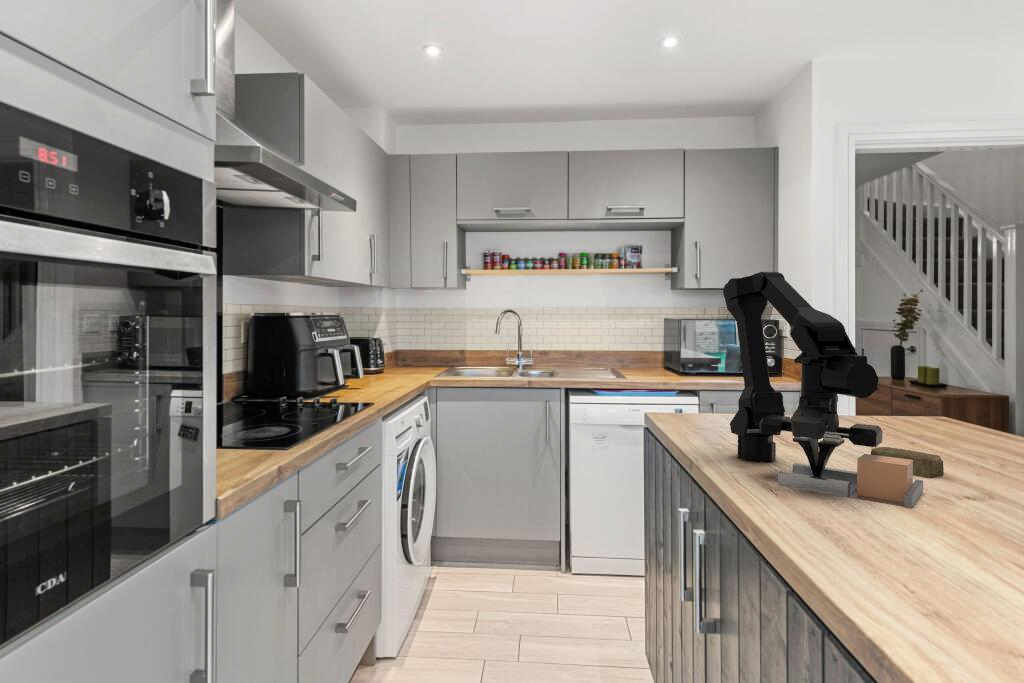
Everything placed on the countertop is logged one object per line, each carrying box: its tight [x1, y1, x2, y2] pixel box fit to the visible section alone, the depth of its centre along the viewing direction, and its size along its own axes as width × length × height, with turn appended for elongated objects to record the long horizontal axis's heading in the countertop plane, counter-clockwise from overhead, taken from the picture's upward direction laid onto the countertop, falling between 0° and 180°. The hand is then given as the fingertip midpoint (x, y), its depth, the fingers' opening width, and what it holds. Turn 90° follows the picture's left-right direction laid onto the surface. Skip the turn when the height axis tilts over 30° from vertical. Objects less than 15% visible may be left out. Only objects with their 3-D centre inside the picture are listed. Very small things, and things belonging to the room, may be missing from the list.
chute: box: [776, 462, 924, 509], centre depth 102 cm, size 20×11×3 cm, turn 48°
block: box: [856, 453, 914, 503], centre depth 98 cm, size 7×5×6 cm
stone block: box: [870, 446, 945, 479], centre depth 114 cm, size 6×12×5 cm, turn 33°
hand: (817, 478), depth 106 cm, fingers closed
